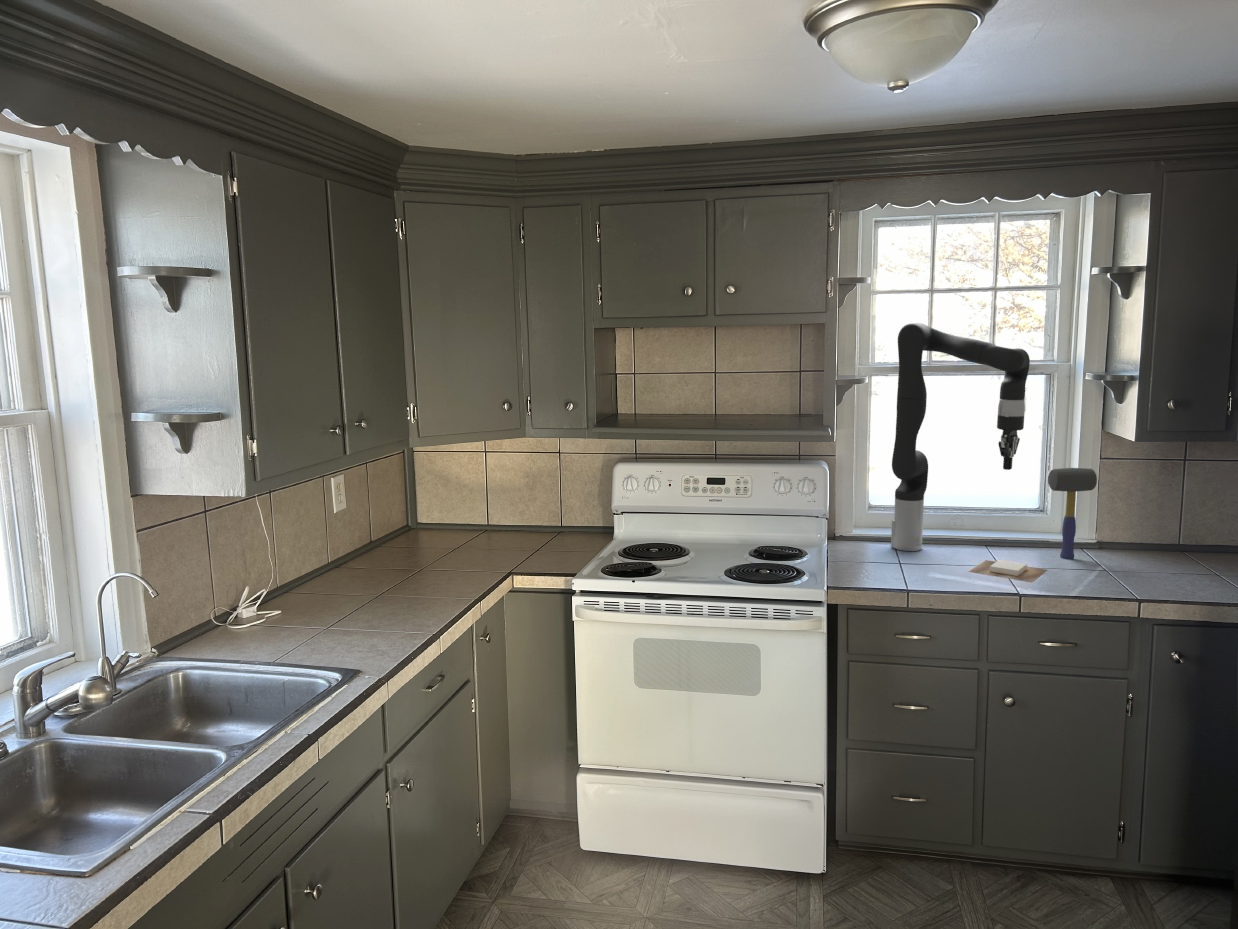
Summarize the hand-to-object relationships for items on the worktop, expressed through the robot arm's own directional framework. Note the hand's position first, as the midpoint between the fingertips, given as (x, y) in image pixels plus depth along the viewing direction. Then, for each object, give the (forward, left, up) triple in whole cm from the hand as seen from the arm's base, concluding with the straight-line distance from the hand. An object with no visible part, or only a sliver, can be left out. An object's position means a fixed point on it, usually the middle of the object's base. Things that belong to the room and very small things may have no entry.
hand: (1007, 469), depth 266 cm
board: (+6, -13, -30) cm, 33 cm away
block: (+6, -8, -28) cm, 30 cm away
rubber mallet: (+16, +13, -30) cm, 36 cm away
